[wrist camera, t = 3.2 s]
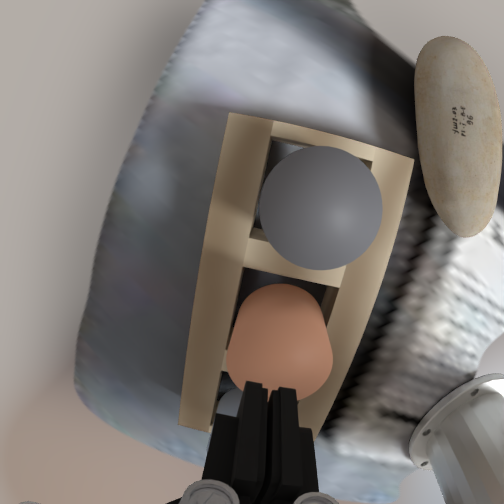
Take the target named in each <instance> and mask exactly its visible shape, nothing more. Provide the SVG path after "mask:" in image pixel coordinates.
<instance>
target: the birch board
mask: <svg viewBox="0 0 504 504" xmlns="http://www.w3.org/2000/svg"><path fill="white" fill-rule="evenodd" d="M272 141H277V142H281V143H286V144H290V145H295V146H299V147H303V148H307V147H312V146H330V147H335V148H339V149H342V150H344V151H347V152H349V153H350V154H352V155H354V156H355V157H357V158H358V159H360V160H361V161H362V162H363V163H364V164H365V165H366V166H367V167H368V169H369V170H370V171H371V172H372V174H373V176H374V177H375V179H376V181H377V183H378V186H379V189H380V192H381V196H382V205H383V211H382V220H381V224H380V227H379V230H378V233H377V235H376V237H375V239H374V241H373V242H372V244H371V245H370V246H369V248H368V249H367V250H366V251H365V252H364V253H363V254H362V255H361V256H360V257H358V258H357V259H356V260H354V261H353V262H351V263H349V264H347V265H345V266H342V267H339V268H335V269H331V270H311V269H306V268H303V267H299V266H297V265H295V264H293V263H291V262H289V261H288V260H286V259H285V258H283V257H282V256H281V255H280V254H279V253H278V252H277V251H276V250H275V249H274V248H273V247H272V245H271V244H270V243H269V241H268V239H267V238H266V236H265V233H264V231H263V229H258V228H254V227H253V226H254V221H255V217H256V212H257V207H258V203H259V198H260V193H261V189H262V184H263V179H264V175H265V170H266V165H267V161H268V156H269V152H270V147H271V142H272ZM413 164H414V159H411V158H409V157H406V156H403V155H400V154H397V153H394V152H391V151H388V150H385V149H382V148H378V147H375V146H372V145H369V144H365V143H362V142H359V141H355V140H352V139H348V138H345V137H341V136H337V135H334V134H330V133H326V132H322V131H318V130H314V129H310V128H306V127H302V126H297V125H293V124H289V123H284V122H279V121H275V120H270V119H265V118H260V117H254V116H249V115H243V114H238V113H232V112H229V115H228V120H227V125H226V129H225V134H224V139H223V143H222V148H221V153H220V158H219V163H218V168H217V172H216V178H215V183H214V188H213V193H212V198H211V204H210V209H209V214H208V220H207V225H206V231H205V237H204V242H203V248H202V254H201V260H200V266H199V272H198V278H197V285H196V291H195V297H194V304H193V311H192V317H191V324H190V331H189V339H188V346H187V353H186V361H185V369H184V377H183V385H182V394H181V402H180V411H179V421H178V425H181V426H185V427H189V428H192V429H196V430H200V431H204V432H208V433H211V431H212V427H213V423H214V419H215V416H216V412H217V408H218V404H219V401H217V396H218V391H219V387H220V382H221V377H222V372H223V371H225V372H228V370H227V365H226V356H227V351H228V347H229V344H230V340H231V337H232V333H233V330H234V327H232V325H233V320H234V315H235V311H236V306H237V301H238V296H239V292H240V287H241V282H242V278H243V273H244V268H245V267H247V268H251V269H256V270H260V271H265V272H269V273H274V274H278V275H283V276H287V277H292V278H296V279H301V280H306V281H310V282H315V283H319V284H324V285H327V288H326V291H325V294H324V298H323V301H322V304H321V307H320V308H321V311H322V314H323V318H324V322H325V326H326V329H327V333H328V337H329V341H330V345H331V349H332V354H333V365H332V369H331V372H330V375H329V377H328V378H327V380H326V381H325V383H324V384H323V385H322V386H321V387H320V388H319V389H318V390H317V391H316V392H314V393H313V394H311V395H309V396H307V397H306V398H303V399H301V400H298V401H297V406H298V418H299V427H305V428H311V429H312V433H313V441H315V439H316V437H317V435H318V433H319V431H320V429H321V427H322V425H323V423H324V421H325V419H326V417H327V415H328V413H329V411H330V409H331V407H332V405H333V403H334V400H335V398H336V396H337V394H338V392H339V390H340V387H341V385H342V383H343V381H344V378H345V376H346V374H347V372H348V369H349V367H350V365H351V362H352V360H353V357H354V355H355V353H356V350H357V348H358V345H359V343H360V340H361V338H362V335H363V333H364V330H365V327H366V325H367V322H368V319H369V317H370V314H371V311H372V309H373V306H374V303H375V300H376V297H377V294H378V291H379V289H380V286H381V283H382V280H383V277H384V273H385V270H386V267H387V264H388V261H389V258H390V254H391V251H392V248H393V244H394V241H395V237H396V234H397V230H398V226H399V223H400V219H401V215H402V211H403V207H404V204H405V199H406V195H407V191H408V187H409V183H410V178H411V174H412V169H413Z"/></svg>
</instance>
